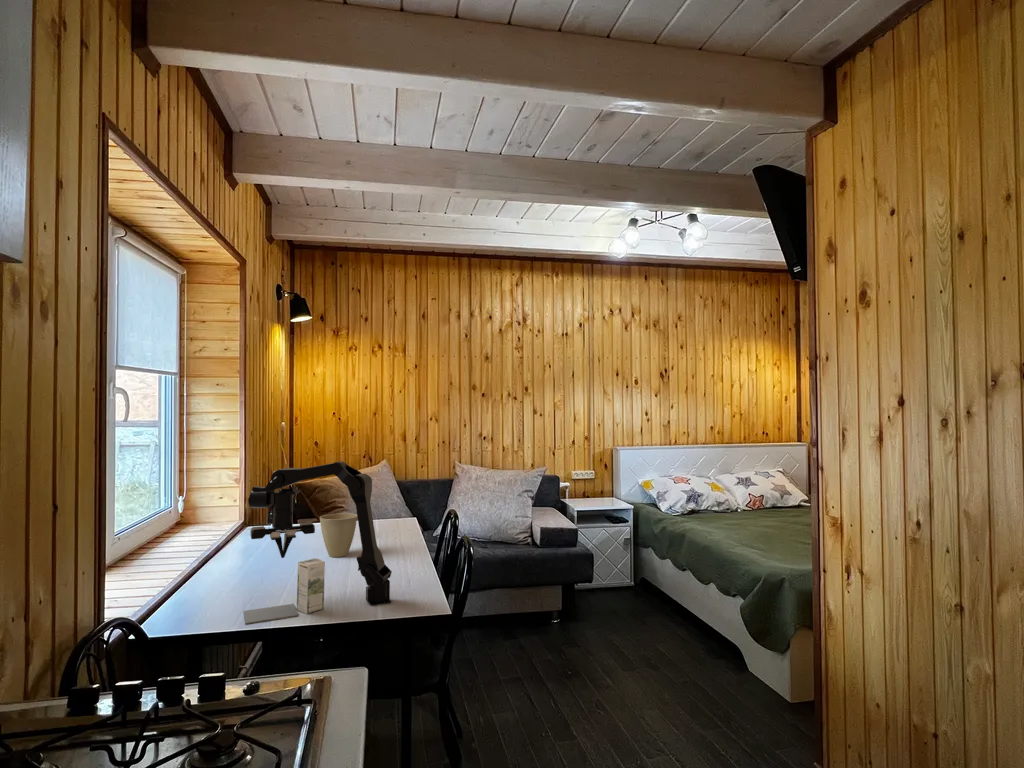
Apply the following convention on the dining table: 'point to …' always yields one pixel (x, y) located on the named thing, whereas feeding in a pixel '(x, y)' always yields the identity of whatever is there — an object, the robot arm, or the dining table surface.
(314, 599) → the syrup box
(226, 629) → the dining table surface
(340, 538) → the plant pot
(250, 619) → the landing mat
